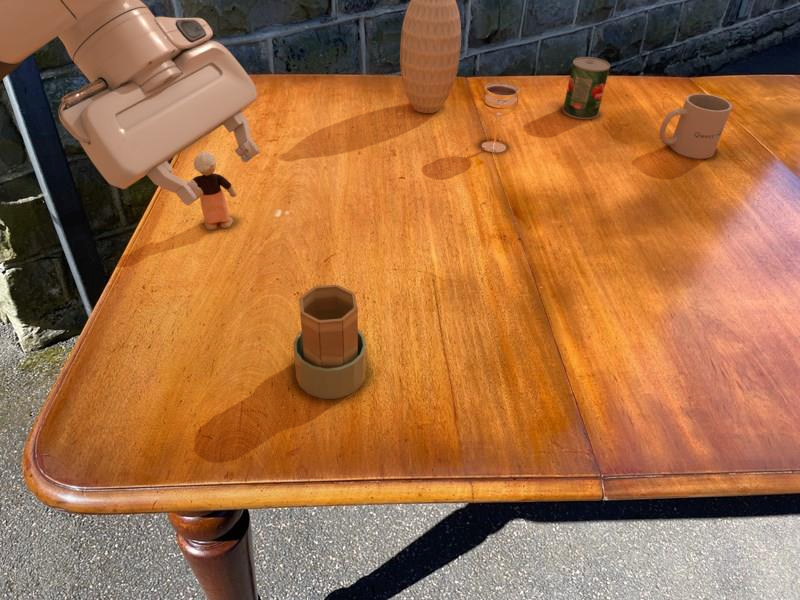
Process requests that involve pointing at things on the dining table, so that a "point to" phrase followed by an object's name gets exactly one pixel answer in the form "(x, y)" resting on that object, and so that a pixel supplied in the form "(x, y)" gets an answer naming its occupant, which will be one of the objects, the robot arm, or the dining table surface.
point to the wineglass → (499, 108)
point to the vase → (430, 52)
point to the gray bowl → (330, 373)
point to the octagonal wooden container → (329, 326)
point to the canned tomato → (586, 87)
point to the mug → (698, 125)
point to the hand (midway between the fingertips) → (225, 178)
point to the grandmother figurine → (212, 192)
